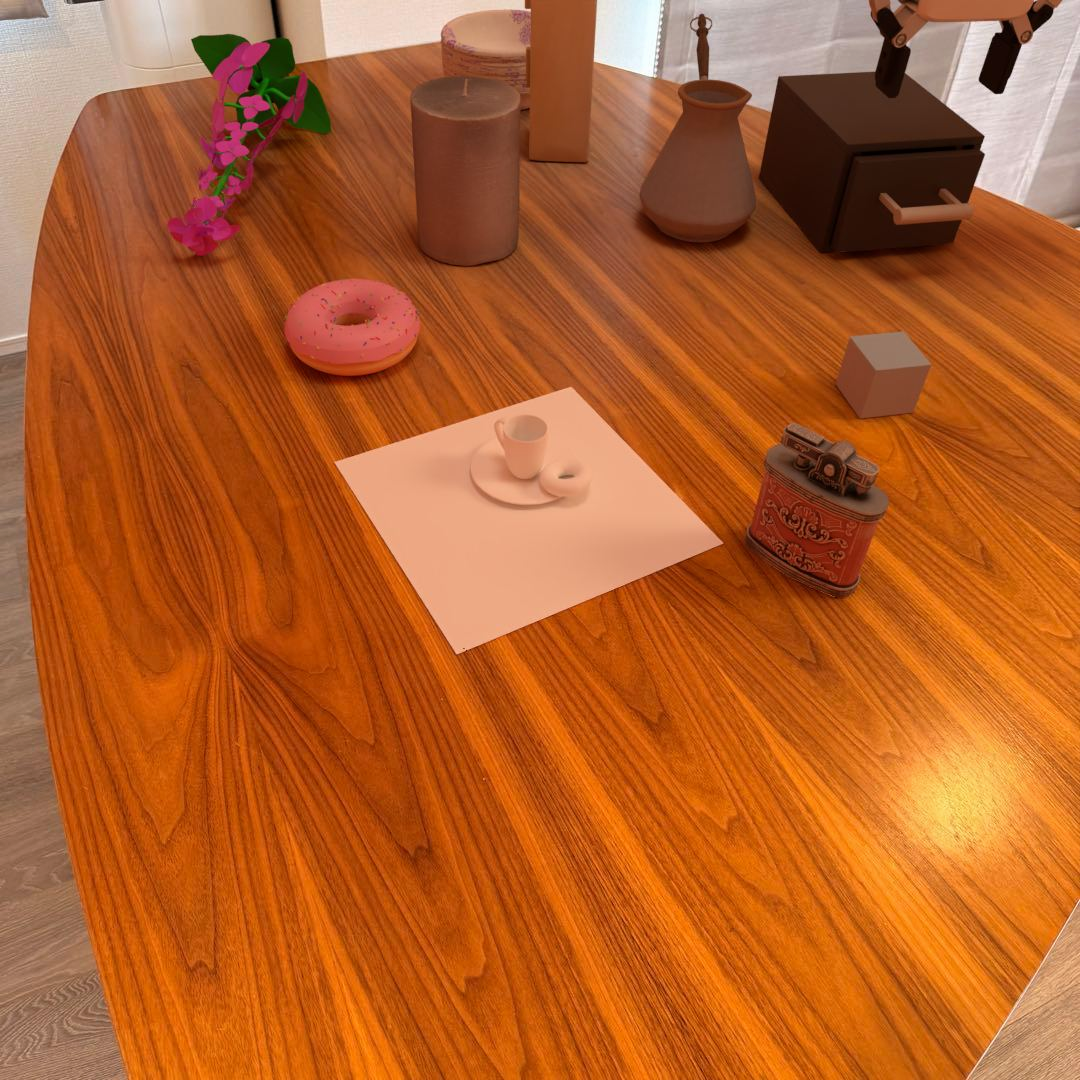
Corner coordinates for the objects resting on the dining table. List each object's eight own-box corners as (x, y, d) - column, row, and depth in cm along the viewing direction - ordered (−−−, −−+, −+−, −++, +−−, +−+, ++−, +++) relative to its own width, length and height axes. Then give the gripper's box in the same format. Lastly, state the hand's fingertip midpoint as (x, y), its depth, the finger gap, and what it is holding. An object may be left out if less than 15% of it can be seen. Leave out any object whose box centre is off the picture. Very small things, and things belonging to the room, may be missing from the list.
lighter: (866, 578, 64) (912, 462, 56) (840, 607, 62) (884, 490, 55) (761, 520, 67) (792, 403, 60) (734, 545, 65) (762, 428, 58)
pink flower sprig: (319, 146, 117) (271, 326, 94) (182, 73, 110) (94, 248, 87) (362, 56, 109) (319, 229, 86) (217, -28, 102) (129, 135, 79)
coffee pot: (758, 255, 93) (791, 94, 83) (638, 250, 94) (656, 88, 83) (734, 160, 109) (759, 13, 98) (631, 155, 109) (645, 8, 98)
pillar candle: (442, 211, 98) (435, 53, 87) (533, 229, 96) (537, 69, 85) (400, 255, 91) (388, 91, 81) (497, 276, 89) (497, 109, 79)
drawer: (978, 267, 91) (1013, 176, 85) (856, 278, 89) (883, 185, 83) (882, 173, 105) (906, 89, 99) (774, 180, 103) (792, 95, 97)
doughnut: (317, 400, 75) (310, 355, 72) (269, 331, 82) (260, 287, 79) (444, 362, 79) (442, 317, 76) (388, 298, 86) (384, 255, 83)
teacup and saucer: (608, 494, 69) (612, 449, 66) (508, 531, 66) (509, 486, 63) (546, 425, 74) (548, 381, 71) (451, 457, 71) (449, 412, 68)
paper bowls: (417, 98, 119) (413, 27, 113) (500, 65, 127) (500, -1, 121) (511, 134, 112) (511, 61, 106) (592, 97, 120) (596, 28, 115)
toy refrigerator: (524, 131, 112) (528, -79, 98) (588, 134, 112) (601, -76, 97) (521, 161, 107) (524, -57, 92) (588, 164, 107) (601, -54, 92)
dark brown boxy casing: (947, 242, 96) (985, 136, 89) (820, 253, 94) (847, 144, 87) (873, 170, 108) (901, 69, 100) (758, 177, 106) (778, 75, 98)
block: (887, 378, 80) (903, 330, 76) (913, 413, 76) (932, 364, 73) (835, 384, 79) (849, 336, 76) (859, 419, 76) (875, 370, 72)
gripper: (1090, -161, 75) (1007, 71, 87) (882, -163, 72) (826, 77, 85) (1150, -140, 70) (1053, 104, 82) (928, -141, 67) (861, 111, 79)
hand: (938, 90), depth 83 cm, fingers open, 9 cm apart
